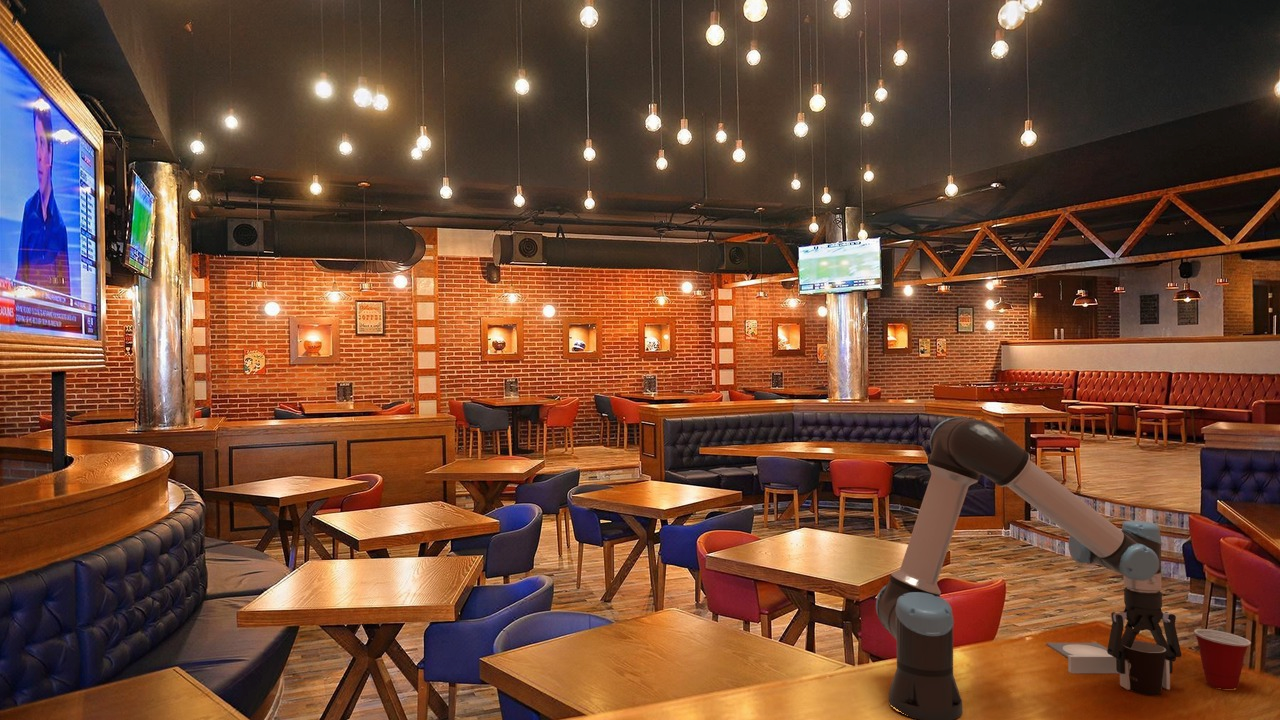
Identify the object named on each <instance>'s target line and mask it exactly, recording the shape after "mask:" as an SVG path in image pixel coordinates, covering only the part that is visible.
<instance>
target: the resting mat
mask: <svg viewBox="0 0 1280 720" xmlns="http://www.w3.org/2000/svg"><path fill="white" fill-rule="evenodd" d="M1045 645H1046V646H1048V647H1049V648H1051V649H1053V650H1054V651H1056V652H1057V653H1059V654H1060V655H1062V656H1063V657H1066V658H1067V659H1068V655H1110V654H1108V653H1107V649H1108V647H1105V646H1104V645H1103V644H1101V643H1099V642H1045Z"/></svg>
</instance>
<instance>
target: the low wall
mask: <svg viewBox="0 0 1280 720" xmlns="http://www.w3.org/2000/svg"><path fill="white" fill-rule="evenodd" d="M1067 661H1068V662H1067V663H1068V664H1067V665H1068V667H1067V671H1068V673H1070V674H1120V673H1119V672H1117V670H1116V658H1115V657H1113V656H1111V655H1068V658H1067Z"/></svg>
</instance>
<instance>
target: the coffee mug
mask: <svg viewBox="0 0 1280 720" xmlns="http://www.w3.org/2000/svg"><path fill="white" fill-rule="evenodd" d="M1123 646H1124V645H1123ZM1124 648H1125V651H1126V661H1127V664H1128V672H1129V679H1130V691H1131V692H1133V693H1135V694H1140V695H1144V696H1151V697H1152V696H1153V697H1154V696H1155V697H1156V696H1160V695H1162V688H1163V687H1162V680H1163V671H1164V663H1165V654H1166V649H1165V648H1164V647H1162V646H1160V645H1157V644H1156V643H1154V642H1148V641H1143V640H1134V642H1133V644H1132V647H1131V648H1128V647H1126V646H1124Z"/></svg>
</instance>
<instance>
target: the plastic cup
mask: <svg viewBox="0 0 1280 720" xmlns="http://www.w3.org/2000/svg"><path fill="white" fill-rule="evenodd" d="M1193 633H1194V634H1195V637H1196V642H1197V646H1198V649H1199V654H1200V660H1201V665H1202V669H1203V673H1204V678H1205V682H1206V684H1207V686H1209V685H1210V686H1211V688H1213V687H1214V689H1216V688H1221V689H1234V688H1237V689H1238V687H1239V683H1240V678H1241V676H1242V675H1241V674H1242V670H1243V666H1244V665H1243V664H1244V660H1245V654H1246V652H1247V650H1248V647H1250V646H1251V644H1252V642H1251V641H1250V640H1249V639H1247V638H1245V637H1242V636H1239V635H1236V634H1234V633H1230V632H1226V631H1221V630H1216V629H1209V628H1208V629H1206V628H1196V629H1194V630H1193ZM1210 686H1209V687H1210Z"/></svg>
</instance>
